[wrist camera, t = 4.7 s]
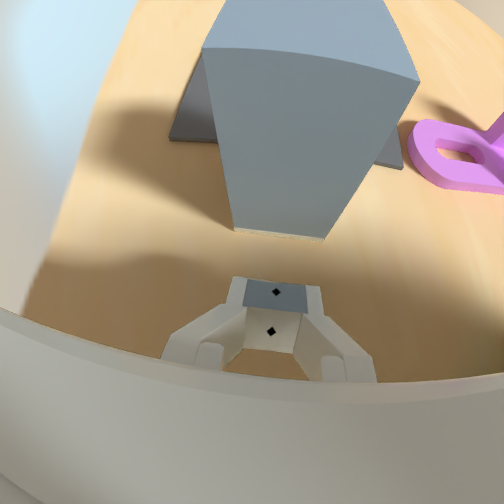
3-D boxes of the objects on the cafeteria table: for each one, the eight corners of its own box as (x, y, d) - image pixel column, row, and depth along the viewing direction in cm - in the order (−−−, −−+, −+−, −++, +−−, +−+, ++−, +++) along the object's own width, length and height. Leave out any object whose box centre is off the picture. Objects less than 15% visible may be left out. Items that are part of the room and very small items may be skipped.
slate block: (322, 242, 17) (421, 82, 5) (234, 231, 17) (200, 48, 5) (325, 167, 18) (383, 0, 6) (246, 157, 18) (238, -21, 7)
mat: (401, 170, 18) (403, 167, 18) (169, 140, 19) (168, 137, 18) (377, 55, 22) (378, 52, 21) (213, 34, 23) (212, 31, 22)
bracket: (500, 146, 19) (538, 107, 13) (520, 198, 18) (567, 163, 11) (397, 125, 19) (432, 62, 13) (417, 188, 18) (470, 129, 11)
